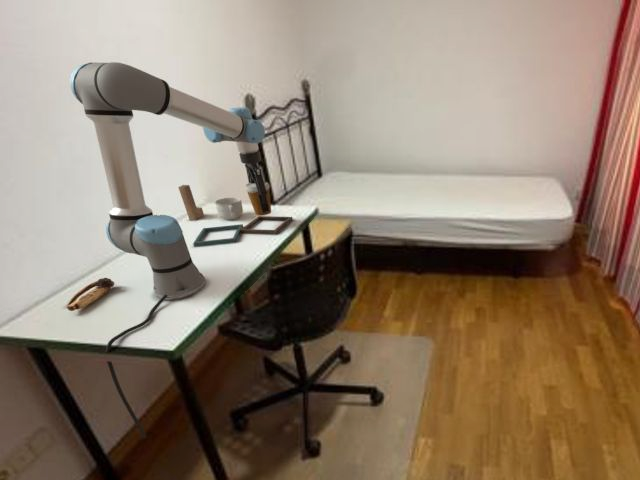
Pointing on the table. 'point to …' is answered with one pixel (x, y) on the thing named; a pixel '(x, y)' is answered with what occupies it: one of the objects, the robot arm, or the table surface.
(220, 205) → the teacup
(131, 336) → the table surface
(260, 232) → the right stand
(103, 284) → the bone fish hook
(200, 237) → the left stand
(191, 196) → the wooden block
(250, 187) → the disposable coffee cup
